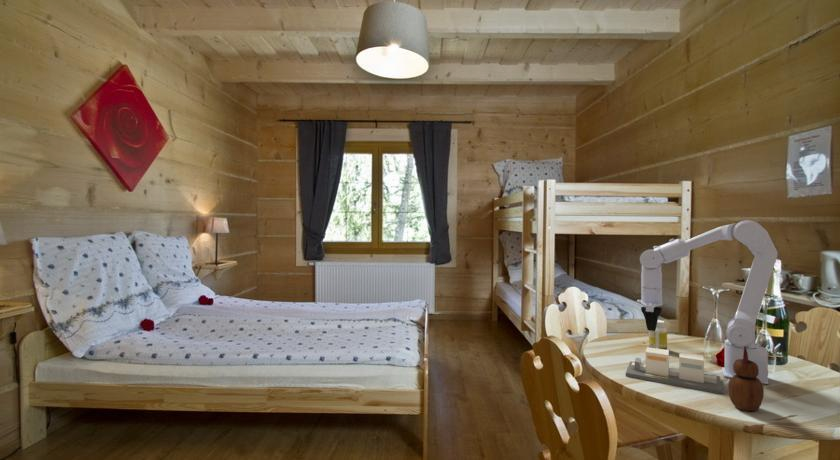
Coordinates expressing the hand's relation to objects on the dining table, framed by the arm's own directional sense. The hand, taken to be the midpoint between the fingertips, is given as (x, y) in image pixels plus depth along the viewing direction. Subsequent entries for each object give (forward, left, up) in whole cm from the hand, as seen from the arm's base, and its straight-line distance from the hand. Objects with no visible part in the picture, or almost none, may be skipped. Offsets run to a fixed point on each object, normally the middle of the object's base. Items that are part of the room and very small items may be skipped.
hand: (651, 330), depth 127 cm
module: (-2, +14, -8) cm, 17 cm away
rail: (-6, +14, -9) cm, 18 cm away
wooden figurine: (-21, +26, -10) cm, 35 cm away
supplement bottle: (-1, -13, -10) cm, 16 cm away
